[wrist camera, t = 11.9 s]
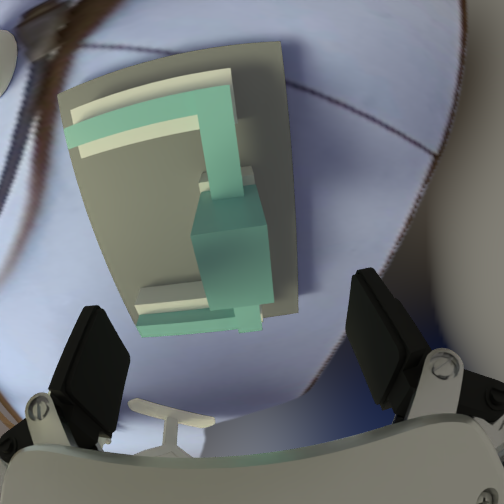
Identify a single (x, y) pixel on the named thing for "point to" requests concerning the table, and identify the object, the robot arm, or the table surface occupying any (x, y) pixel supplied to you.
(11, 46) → the white bottle
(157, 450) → the heart sculpture
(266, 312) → the stand
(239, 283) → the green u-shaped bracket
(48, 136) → the table surface
